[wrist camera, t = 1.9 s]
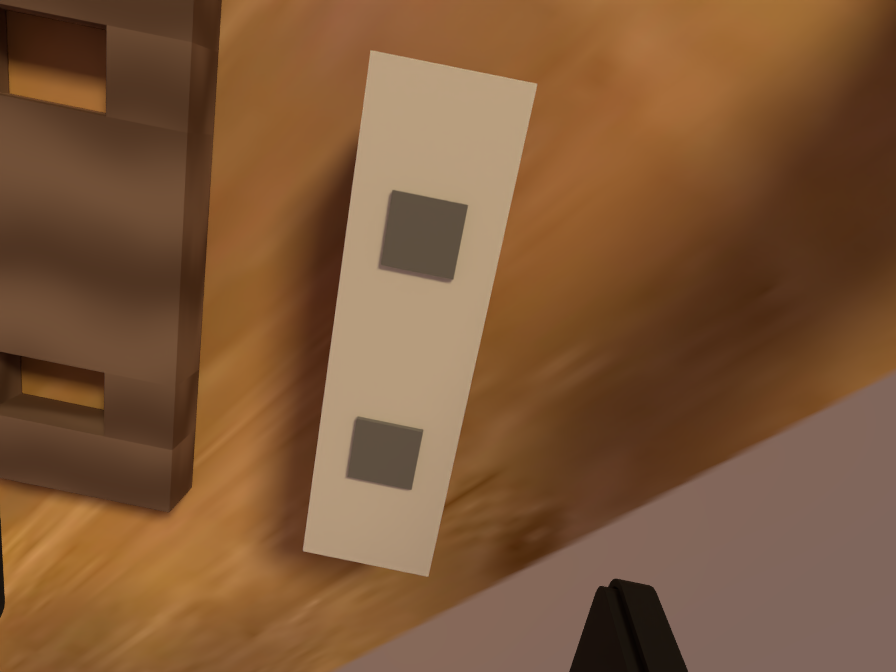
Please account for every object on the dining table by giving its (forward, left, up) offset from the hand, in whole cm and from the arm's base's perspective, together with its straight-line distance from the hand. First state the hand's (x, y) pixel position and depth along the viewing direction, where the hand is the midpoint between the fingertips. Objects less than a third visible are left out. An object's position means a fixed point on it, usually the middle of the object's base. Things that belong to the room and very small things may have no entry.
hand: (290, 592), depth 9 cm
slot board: (+16, 0, -18) cm, 24 cm away
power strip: (0, 0, -18) cm, 18 cm away
